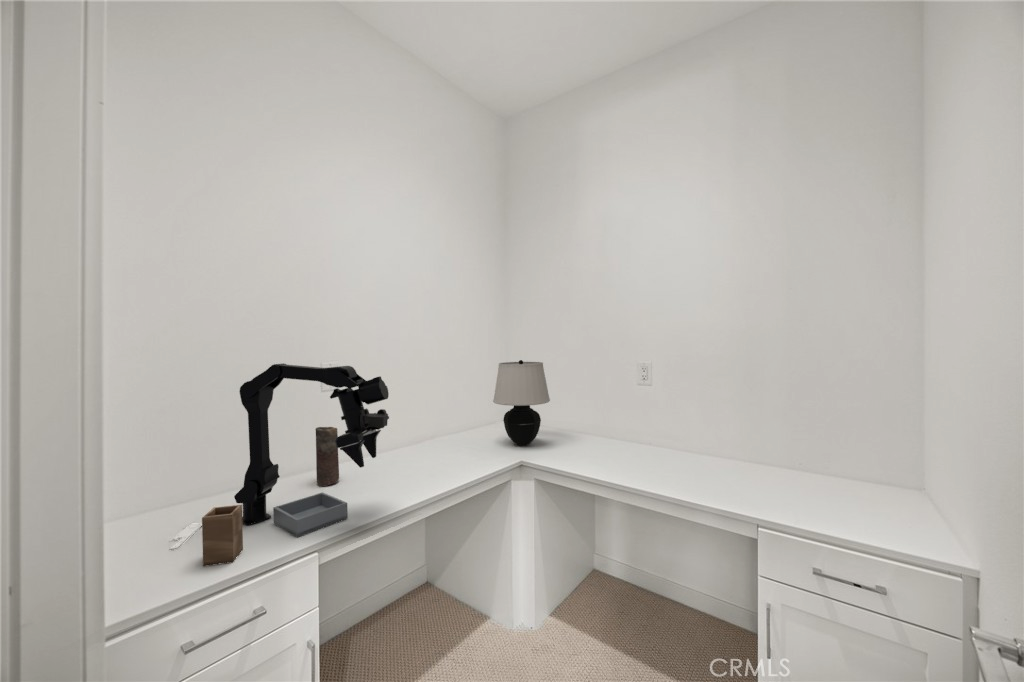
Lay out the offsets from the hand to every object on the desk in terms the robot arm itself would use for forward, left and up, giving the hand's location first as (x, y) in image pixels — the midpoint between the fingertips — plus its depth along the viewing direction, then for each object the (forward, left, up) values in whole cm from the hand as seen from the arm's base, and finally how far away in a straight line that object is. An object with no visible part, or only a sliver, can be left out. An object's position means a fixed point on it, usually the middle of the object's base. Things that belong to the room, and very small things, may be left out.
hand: (368, 462), depth 118 cm
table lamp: (-14, +90, -16) cm, 93 cm away
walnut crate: (-9, -33, -16) cm, 38 cm away
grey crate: (-12, -11, -16) cm, 23 cm away
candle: (-39, +8, -16) cm, 43 cm away
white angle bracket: (-31, -36, -17) cm, 50 cm away
